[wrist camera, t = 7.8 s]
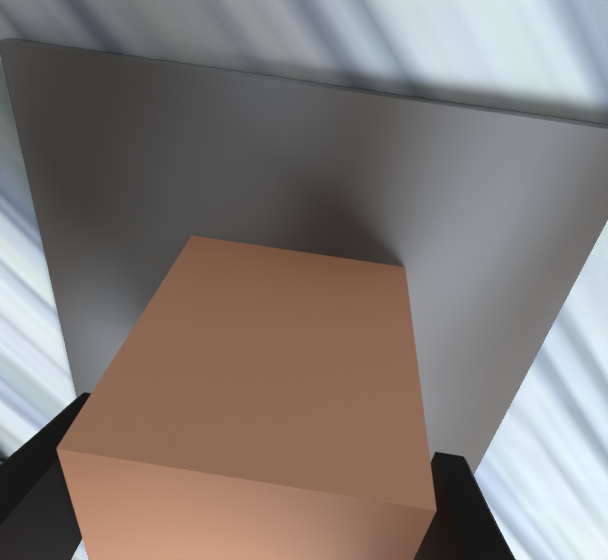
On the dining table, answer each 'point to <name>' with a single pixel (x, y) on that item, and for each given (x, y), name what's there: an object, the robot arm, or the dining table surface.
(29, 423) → the dining table surface
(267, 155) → the post block
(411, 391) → the block
